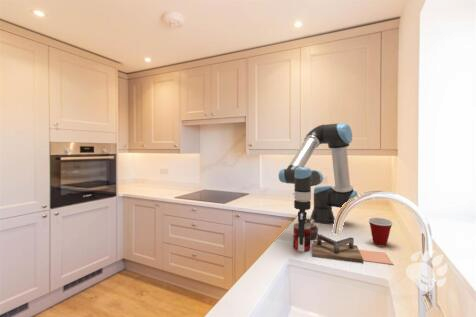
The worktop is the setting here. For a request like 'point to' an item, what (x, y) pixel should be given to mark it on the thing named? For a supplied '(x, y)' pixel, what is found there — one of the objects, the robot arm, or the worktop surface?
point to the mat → (375, 257)
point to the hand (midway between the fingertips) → (301, 246)
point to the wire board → (342, 252)
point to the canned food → (306, 236)
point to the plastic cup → (380, 230)
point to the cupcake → (312, 228)
